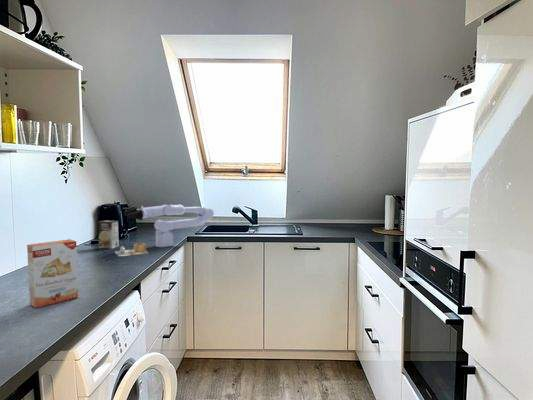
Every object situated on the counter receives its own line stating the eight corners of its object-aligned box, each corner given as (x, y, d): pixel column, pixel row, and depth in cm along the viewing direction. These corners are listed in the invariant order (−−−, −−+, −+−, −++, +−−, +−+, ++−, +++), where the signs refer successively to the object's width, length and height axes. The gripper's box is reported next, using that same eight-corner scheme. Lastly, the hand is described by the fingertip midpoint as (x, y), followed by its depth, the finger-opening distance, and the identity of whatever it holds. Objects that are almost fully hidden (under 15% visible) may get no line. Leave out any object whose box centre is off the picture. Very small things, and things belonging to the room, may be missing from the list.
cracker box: (35, 309, 123) (31, 246, 121) (29, 304, 127) (25, 244, 125) (79, 298, 134) (76, 240, 132) (72, 294, 138) (69, 238, 136)
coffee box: (98, 249, 213) (97, 221, 212) (106, 247, 219) (105, 219, 218) (112, 250, 210) (111, 222, 209) (119, 247, 217) (118, 220, 215)
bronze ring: (144, 249, 207) (143, 242, 207) (146, 251, 202) (146, 244, 202) (133, 250, 204) (133, 243, 204) (135, 252, 199) (135, 245, 199)
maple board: (142, 250, 210) (142, 248, 210) (148, 254, 199) (148, 252, 199) (114, 253, 203) (114, 251, 203) (119, 258, 192) (118, 256, 192)
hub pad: (128, 251, 204) (128, 250, 204) (131, 253, 197) (131, 253, 197) (114, 252, 200) (114, 252, 200) (116, 255, 194) (116, 255, 194)
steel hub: (124, 252, 200) (123, 245, 200) (124, 253, 198) (124, 246, 198) (120, 253, 199) (120, 246, 199) (121, 253, 197) (120, 246, 197)
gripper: (146, 202, 218) (122, 205, 210) (154, 207, 206) (129, 210, 198) (147, 214, 219) (123, 217, 212) (155, 219, 207) (130, 223, 200)
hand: (126, 215), depth 205 cm, fingers open, 7 cm apart
